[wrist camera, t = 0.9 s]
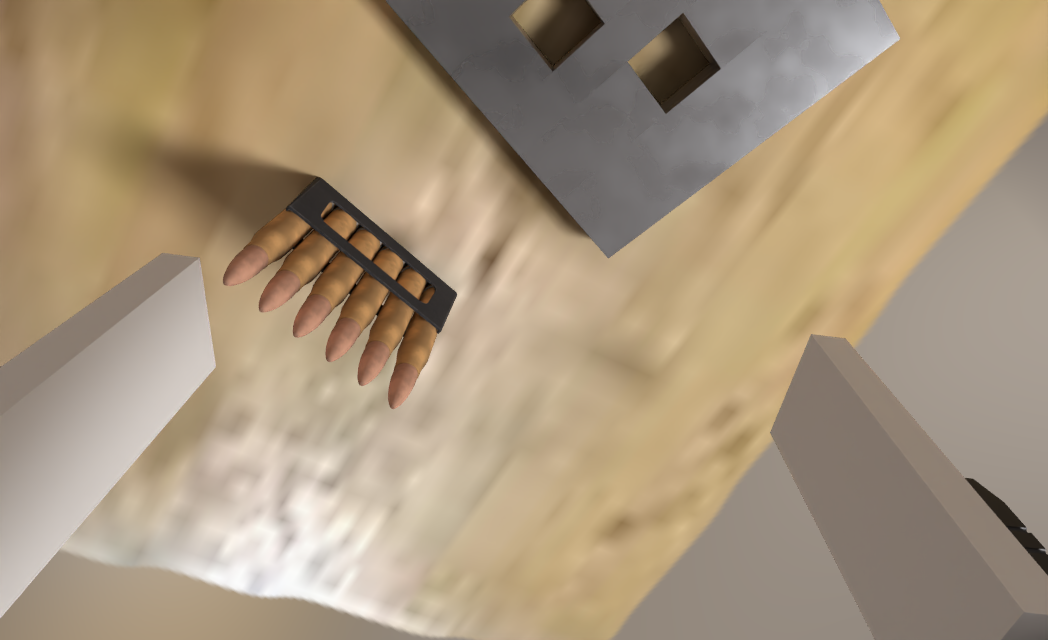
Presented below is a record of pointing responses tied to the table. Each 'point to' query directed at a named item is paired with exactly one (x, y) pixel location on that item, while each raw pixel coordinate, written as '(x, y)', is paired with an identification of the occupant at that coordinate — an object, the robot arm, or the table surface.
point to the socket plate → (646, 92)
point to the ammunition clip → (349, 284)
